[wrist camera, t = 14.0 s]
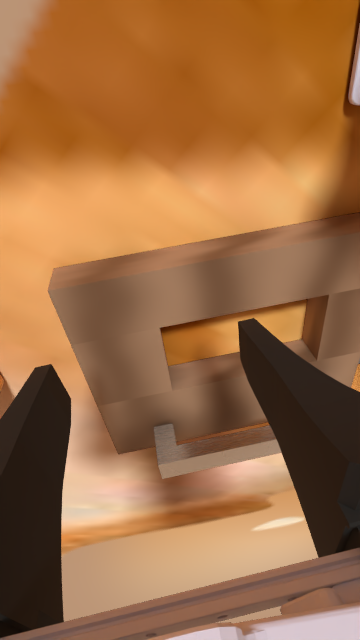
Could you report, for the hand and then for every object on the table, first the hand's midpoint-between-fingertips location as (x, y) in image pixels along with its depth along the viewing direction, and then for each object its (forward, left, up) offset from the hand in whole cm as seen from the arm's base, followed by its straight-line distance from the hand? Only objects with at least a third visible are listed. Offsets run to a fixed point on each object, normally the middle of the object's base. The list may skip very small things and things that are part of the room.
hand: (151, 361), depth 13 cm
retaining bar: (-6, +14, -7) cm, 17 cm away
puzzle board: (-5, +8, -9) cm, 13 cm away
